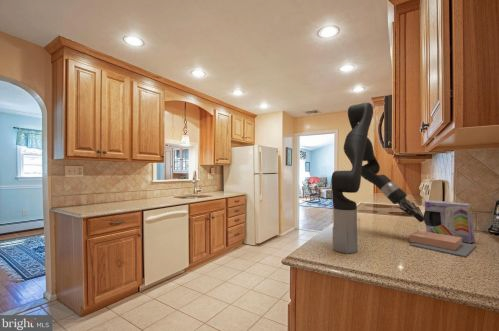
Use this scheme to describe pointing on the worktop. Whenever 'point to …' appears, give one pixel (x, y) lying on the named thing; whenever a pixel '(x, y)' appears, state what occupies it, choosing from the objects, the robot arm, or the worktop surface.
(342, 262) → the worktop surface
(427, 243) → the tile
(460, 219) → the cake pan box
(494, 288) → the worktop surface
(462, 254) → the mat
